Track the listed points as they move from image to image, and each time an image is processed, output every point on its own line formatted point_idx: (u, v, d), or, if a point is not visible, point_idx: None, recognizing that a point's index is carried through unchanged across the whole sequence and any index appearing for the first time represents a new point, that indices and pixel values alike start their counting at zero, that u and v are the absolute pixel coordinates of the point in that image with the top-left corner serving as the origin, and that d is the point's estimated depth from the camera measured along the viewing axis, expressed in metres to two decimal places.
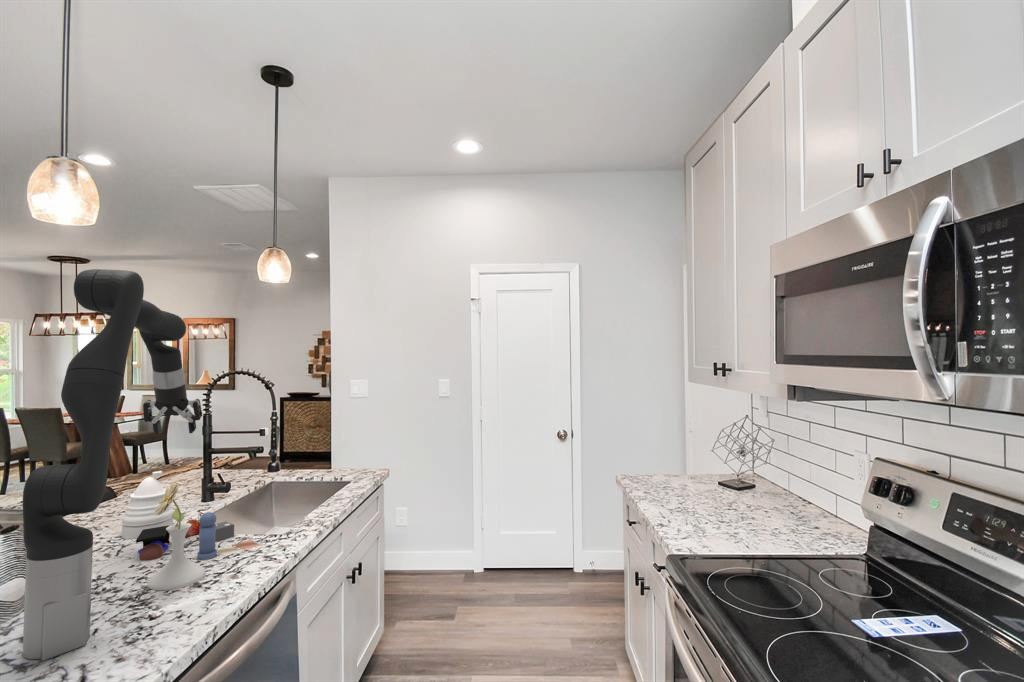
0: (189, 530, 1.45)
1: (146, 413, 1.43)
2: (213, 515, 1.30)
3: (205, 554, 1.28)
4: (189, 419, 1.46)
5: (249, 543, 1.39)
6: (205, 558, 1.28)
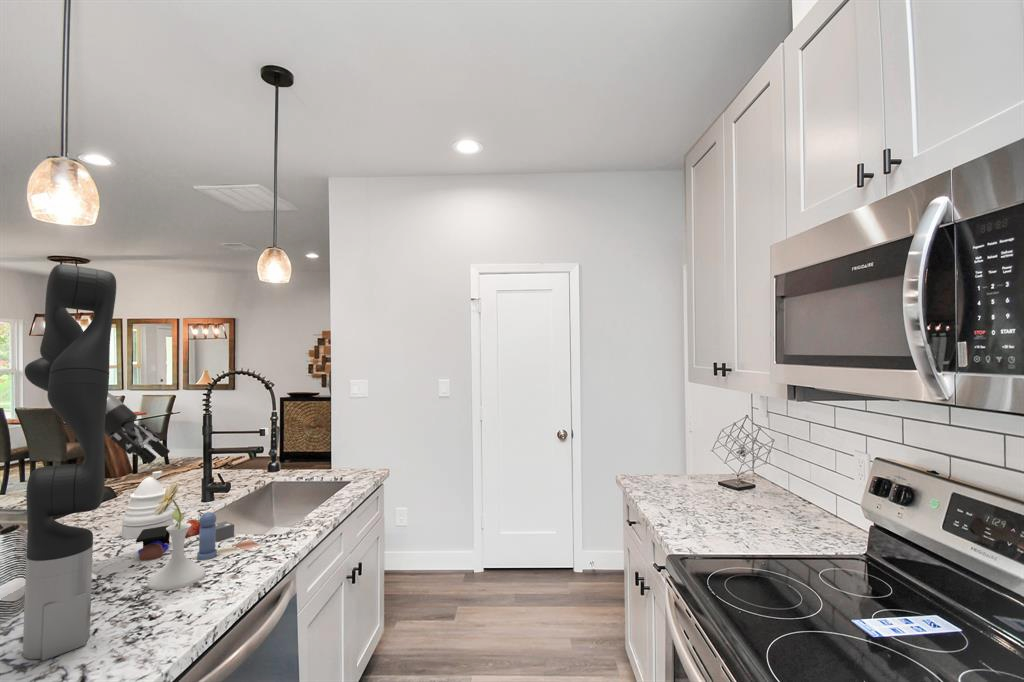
0: (189, 530, 1.45)
1: (130, 439, 1.20)
2: (213, 515, 1.30)
3: (205, 554, 1.28)
4: (156, 438, 1.31)
5: (249, 543, 1.39)
6: (205, 558, 1.28)
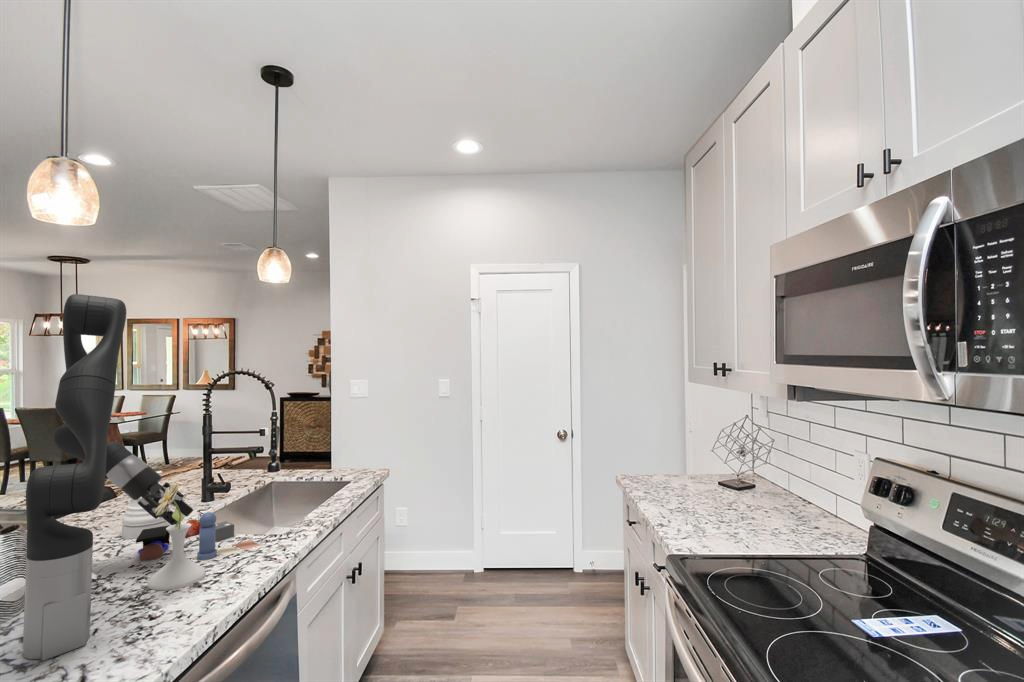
0: (189, 530, 1.45)
1: (156, 503, 1.22)
2: (213, 515, 1.30)
3: (205, 554, 1.28)
4: (179, 497, 1.32)
5: (249, 543, 1.39)
6: (205, 558, 1.28)
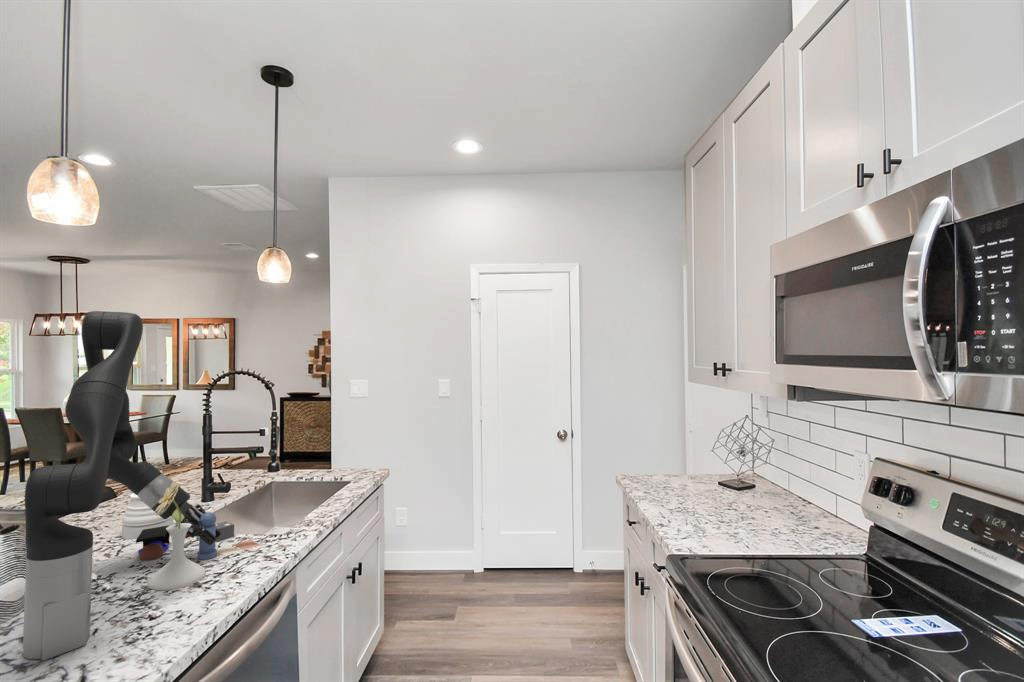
0: None
1: (192, 524, 1.25)
2: (213, 515, 1.30)
3: (205, 554, 1.28)
4: None
5: (249, 543, 1.39)
6: (205, 558, 1.28)
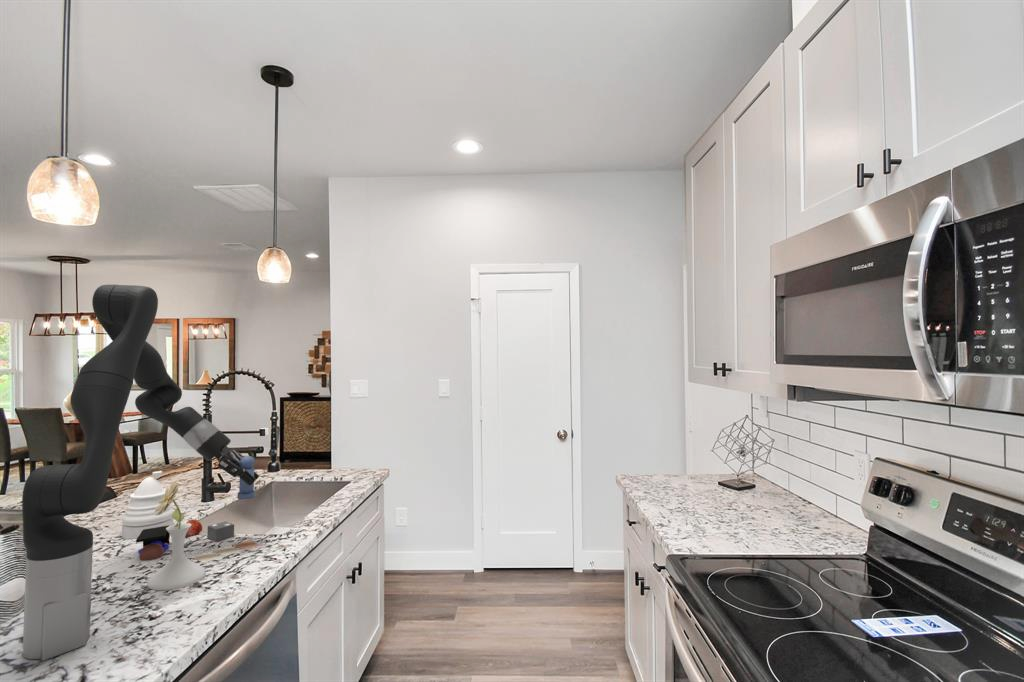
0: (189, 530, 1.45)
1: (234, 464, 1.34)
2: (252, 458, 1.39)
3: (245, 494, 1.37)
4: None
5: (249, 543, 1.39)
6: (245, 497, 1.37)
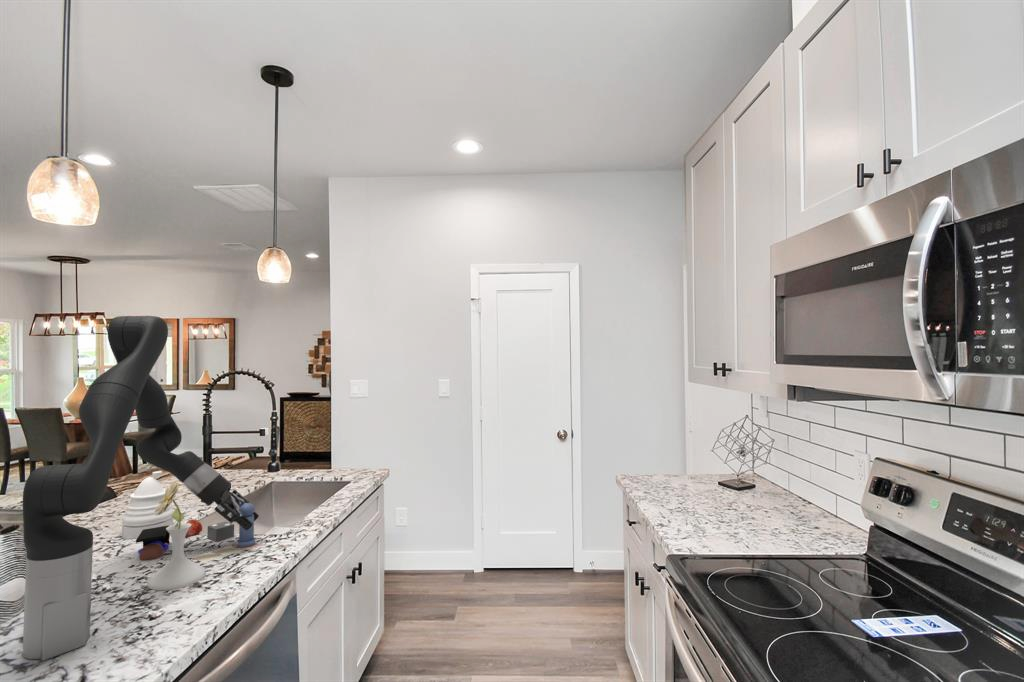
0: (189, 530, 1.45)
1: (231, 509, 1.32)
2: (252, 505, 1.39)
3: (245, 542, 1.36)
4: None
5: None
6: (245, 546, 1.36)
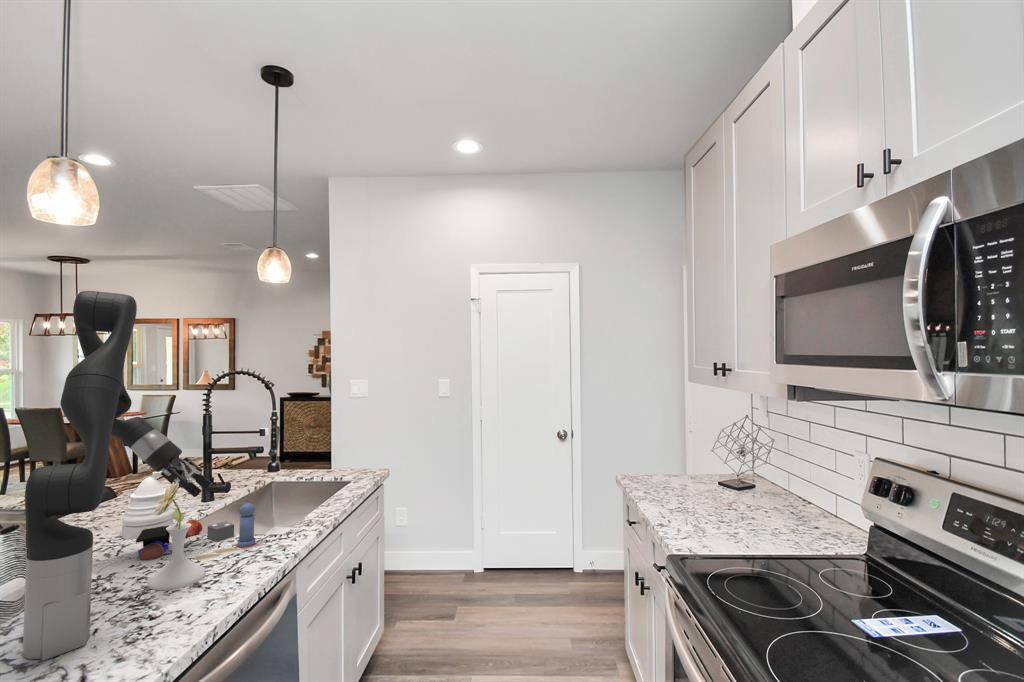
0: (189, 530, 1.45)
1: (178, 474, 1.29)
2: (252, 505, 1.39)
3: (245, 542, 1.36)
4: (198, 471, 1.39)
5: None
6: (245, 546, 1.36)
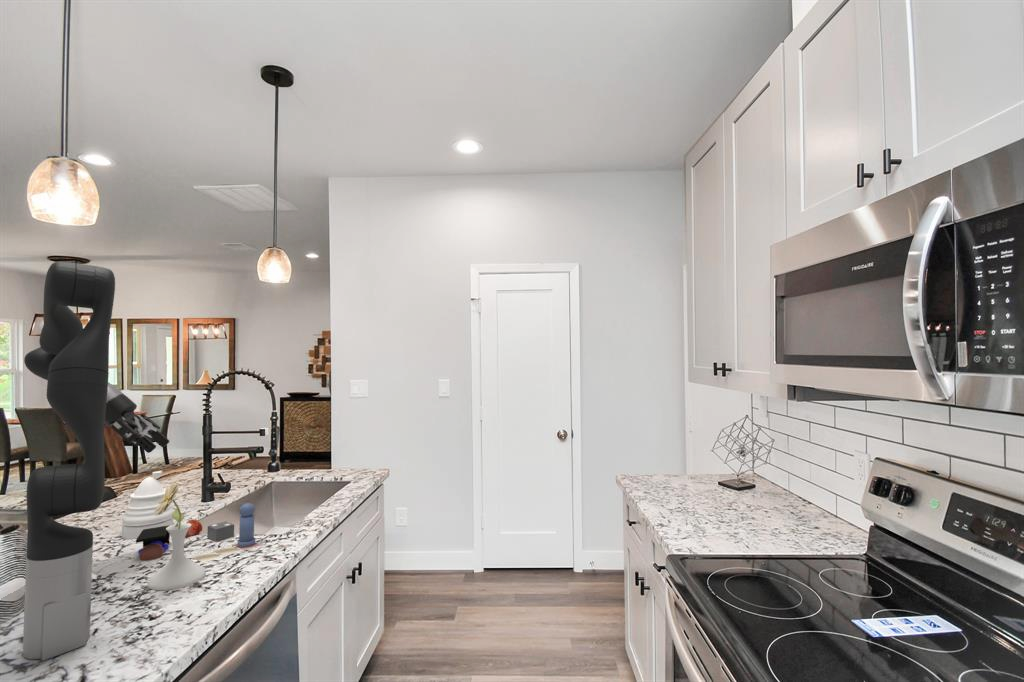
0: (189, 530, 1.45)
1: (130, 427, 1.21)
2: (252, 505, 1.39)
3: (245, 542, 1.36)
4: (155, 428, 1.31)
5: None
6: (245, 546, 1.36)
